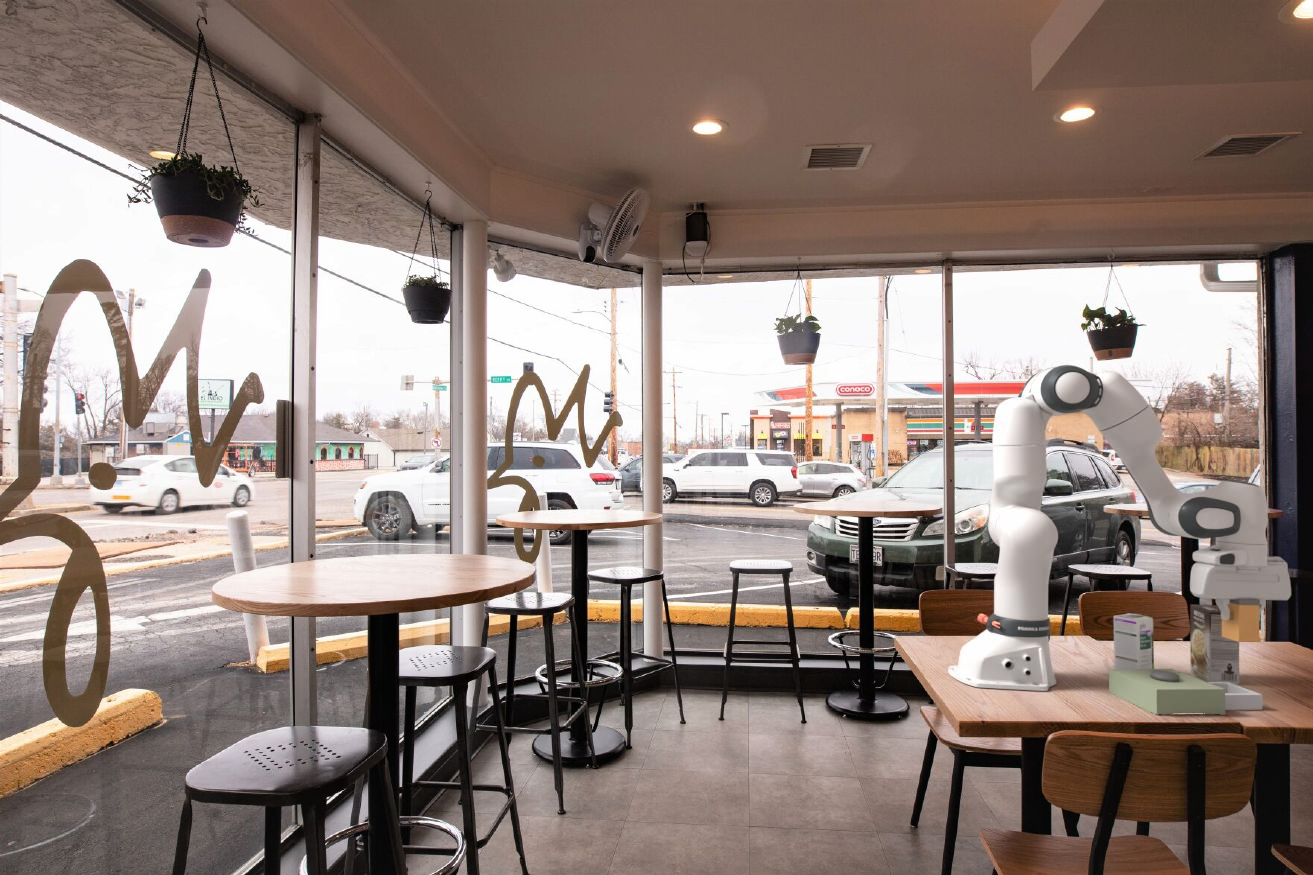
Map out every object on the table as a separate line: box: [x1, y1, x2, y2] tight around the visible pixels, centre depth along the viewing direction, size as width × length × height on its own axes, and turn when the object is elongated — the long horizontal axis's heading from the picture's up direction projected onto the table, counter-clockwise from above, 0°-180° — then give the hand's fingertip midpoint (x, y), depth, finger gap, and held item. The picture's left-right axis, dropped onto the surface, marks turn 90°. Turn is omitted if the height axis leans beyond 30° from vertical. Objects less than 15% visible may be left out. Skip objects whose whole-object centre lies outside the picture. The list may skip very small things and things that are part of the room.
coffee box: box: [1189, 604, 1240, 686], centre depth 171 cm, size 9×6×16 cm
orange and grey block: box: [1222, 599, 1260, 643], centre depth 160 cm, size 5×5×9 cm
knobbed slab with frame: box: [1108, 668, 1264, 716], centre depth 153 cm, size 24×14×6 cm, turn 93°
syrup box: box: [1113, 613, 1155, 669], centre depth 169 cm, size 6×6×14 cm
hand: (1240, 619), depth 160 cm, fingers closed on orange and grey block, 4 cm apart
